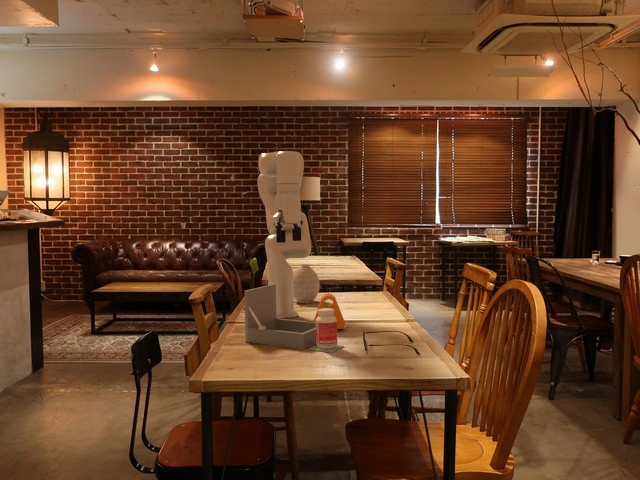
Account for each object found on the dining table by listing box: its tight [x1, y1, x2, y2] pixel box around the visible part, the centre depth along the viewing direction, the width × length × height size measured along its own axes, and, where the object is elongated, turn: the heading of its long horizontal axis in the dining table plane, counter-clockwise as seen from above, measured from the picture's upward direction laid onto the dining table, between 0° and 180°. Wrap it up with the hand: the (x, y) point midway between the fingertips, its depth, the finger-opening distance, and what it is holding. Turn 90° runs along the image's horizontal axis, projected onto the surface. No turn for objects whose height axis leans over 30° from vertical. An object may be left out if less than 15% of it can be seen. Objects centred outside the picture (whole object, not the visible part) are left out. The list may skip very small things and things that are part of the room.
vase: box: [293, 263, 320, 304], centre depth 236 cm, size 13×13×17 cm
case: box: [243, 284, 316, 350], centre depth 168 cm, size 21×16×16 cm
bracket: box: [312, 293, 346, 332], centre depth 183 cm, size 11×7×12 cm, turn 90°
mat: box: [309, 344, 345, 354], centre depth 158 cm, size 8×8×1 cm
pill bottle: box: [315, 308, 338, 349], centre depth 158 cm, size 6×6×11 cm
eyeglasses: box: [362, 330, 420, 355], centre depth 157 cm, size 16×16×4 cm
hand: (289, 241), depth 177 cm, fingers open, 9 cm apart
